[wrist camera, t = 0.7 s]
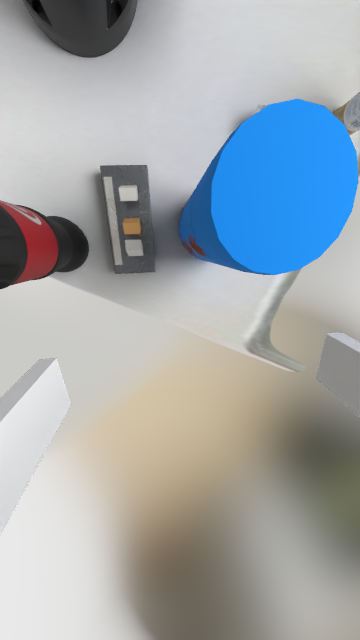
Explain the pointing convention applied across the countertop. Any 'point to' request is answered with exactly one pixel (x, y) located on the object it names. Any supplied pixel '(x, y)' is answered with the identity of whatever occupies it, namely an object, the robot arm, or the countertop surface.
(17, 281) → the cola bottle
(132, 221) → the block
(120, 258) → the breaker panel
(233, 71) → the countertop surface
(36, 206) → the countertop surface
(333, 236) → the thermos
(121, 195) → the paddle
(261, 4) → the countertop surface
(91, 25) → the robot arm
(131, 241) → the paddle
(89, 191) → the countertop surface
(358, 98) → the sprinkles bottle
